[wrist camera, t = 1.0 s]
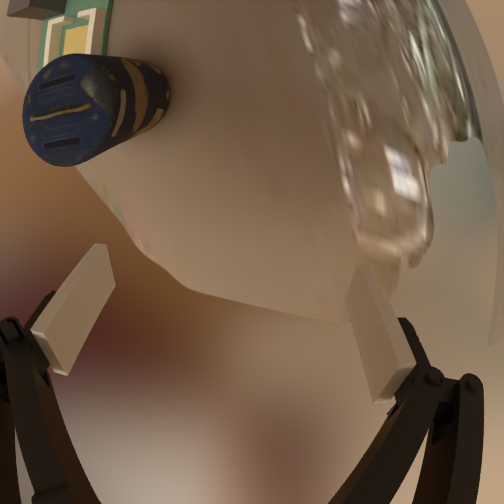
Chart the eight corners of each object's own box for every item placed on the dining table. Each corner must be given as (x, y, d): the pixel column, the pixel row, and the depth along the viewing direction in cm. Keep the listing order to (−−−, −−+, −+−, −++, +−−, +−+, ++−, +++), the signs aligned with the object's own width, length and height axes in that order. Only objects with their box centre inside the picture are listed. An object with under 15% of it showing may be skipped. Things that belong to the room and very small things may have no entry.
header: (58, 22, 24) (48, 20, 21) (105, 11, 24) (96, 7, 22) (53, 72, 27) (42, 73, 25) (99, 64, 28) (89, 64, 26)
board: (52, -3, 22) (47, -4, 21) (117, -21, 22) (113, -23, 21) (42, 77, 28) (37, 77, 27) (104, 66, 29) (100, 65, 28)
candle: (112, 58, 29) (16, 54, 13) (181, 65, 30) (114, 50, 14) (99, 128, 33) (7, 167, 18) (164, 139, 34) (94, 184, 19)
